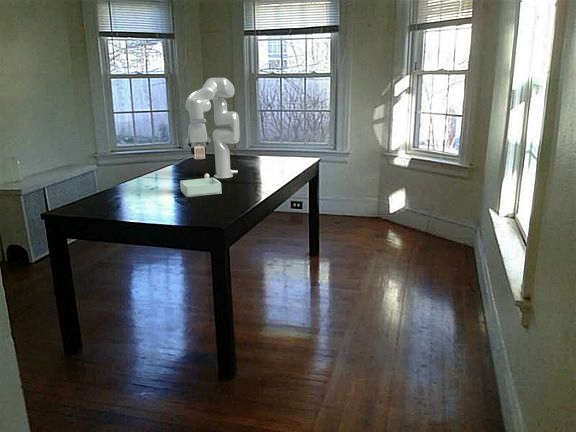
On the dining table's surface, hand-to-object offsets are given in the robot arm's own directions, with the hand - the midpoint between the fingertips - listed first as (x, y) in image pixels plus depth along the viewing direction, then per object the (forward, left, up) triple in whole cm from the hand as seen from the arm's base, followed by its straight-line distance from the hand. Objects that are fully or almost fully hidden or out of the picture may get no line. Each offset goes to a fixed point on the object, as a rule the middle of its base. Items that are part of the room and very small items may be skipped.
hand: (198, 153), depth 295 cm
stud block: (-8, -17, -22) cm, 29 cm away
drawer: (0, 0, -3) cm, 3 cm away
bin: (0, +1, -22) cm, 22 cm away
